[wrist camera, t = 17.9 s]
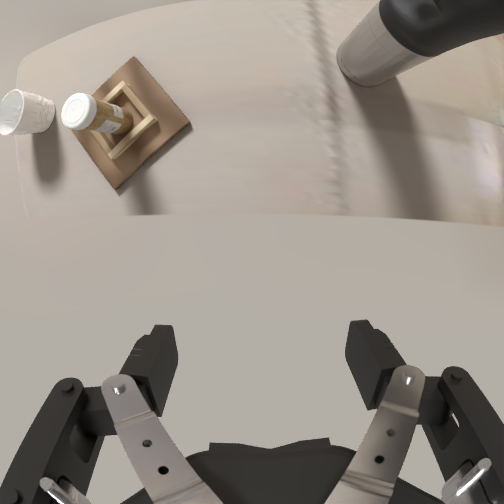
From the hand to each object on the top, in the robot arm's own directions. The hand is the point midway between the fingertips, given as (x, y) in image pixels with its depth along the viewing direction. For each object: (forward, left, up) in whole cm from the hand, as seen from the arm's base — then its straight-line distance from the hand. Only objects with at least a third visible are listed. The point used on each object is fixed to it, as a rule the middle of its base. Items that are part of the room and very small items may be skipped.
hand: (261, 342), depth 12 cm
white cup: (+19, -40, -33) cm, 55 cm away
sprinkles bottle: (+7, -25, -32) cm, 41 cm away
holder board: (+7, -25, -33) cm, 42 cm away
